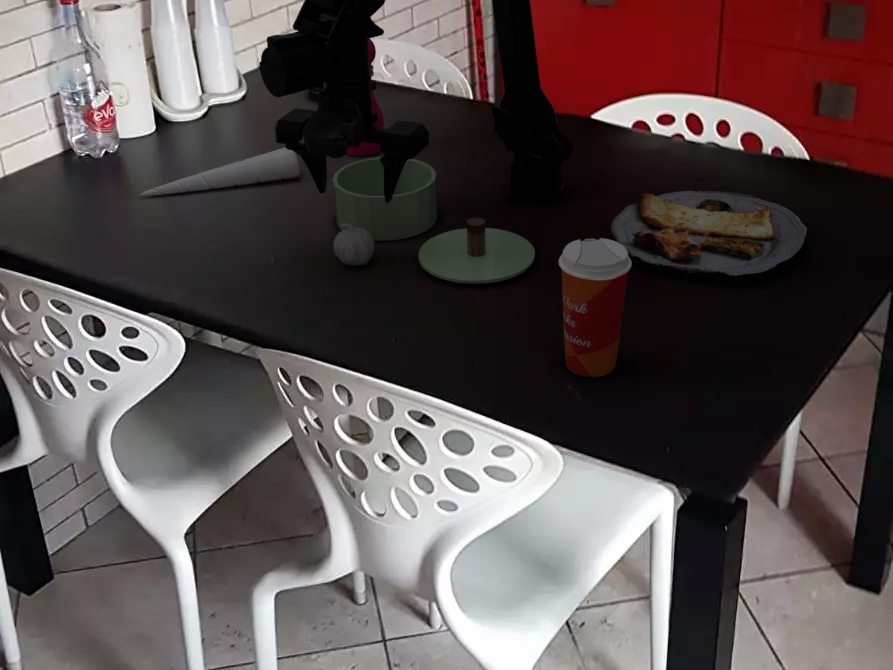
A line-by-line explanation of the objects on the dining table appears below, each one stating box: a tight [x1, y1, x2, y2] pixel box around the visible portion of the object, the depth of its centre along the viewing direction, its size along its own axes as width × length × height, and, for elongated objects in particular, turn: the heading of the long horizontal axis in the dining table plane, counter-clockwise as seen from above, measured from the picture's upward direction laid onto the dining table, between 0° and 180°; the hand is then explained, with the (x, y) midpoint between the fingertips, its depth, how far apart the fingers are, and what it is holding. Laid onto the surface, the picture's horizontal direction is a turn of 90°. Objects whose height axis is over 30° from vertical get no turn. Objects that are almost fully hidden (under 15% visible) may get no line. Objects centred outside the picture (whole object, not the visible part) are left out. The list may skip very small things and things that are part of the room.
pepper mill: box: [345, 38, 385, 157], centre depth 182 cm, size 7×7×20 cm
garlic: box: [333, 223, 375, 266], centre depth 152 cm, size 6×5×5 cm
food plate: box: [609, 190, 808, 277], centre depth 154 cm, size 25×23×4 cm
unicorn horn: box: [140, 146, 301, 196], centre depth 175 cm, size 5×24×5 cm, turn 103°
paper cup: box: [558, 237, 633, 378], centre depth 126 cm, size 8×8×14 cm
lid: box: [417, 217, 536, 285], centre depth 151 cm, size 15×15×6 cm
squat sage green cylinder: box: [332, 156, 439, 242], centre depth 162 cm, size 14×14×6 cm
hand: (355, 197), depth 148 cm, fingers open, 9 cm apart
